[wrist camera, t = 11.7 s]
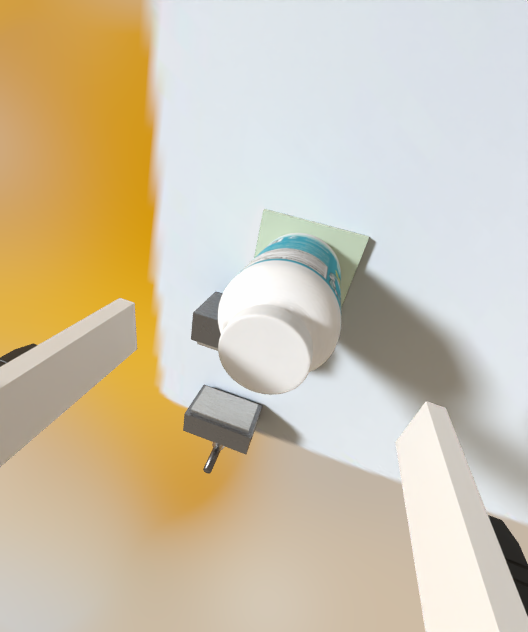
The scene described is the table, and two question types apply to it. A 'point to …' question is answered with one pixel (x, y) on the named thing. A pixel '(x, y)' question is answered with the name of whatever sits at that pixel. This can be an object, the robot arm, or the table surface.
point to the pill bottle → (281, 314)
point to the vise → (218, 397)
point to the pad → (340, 241)
